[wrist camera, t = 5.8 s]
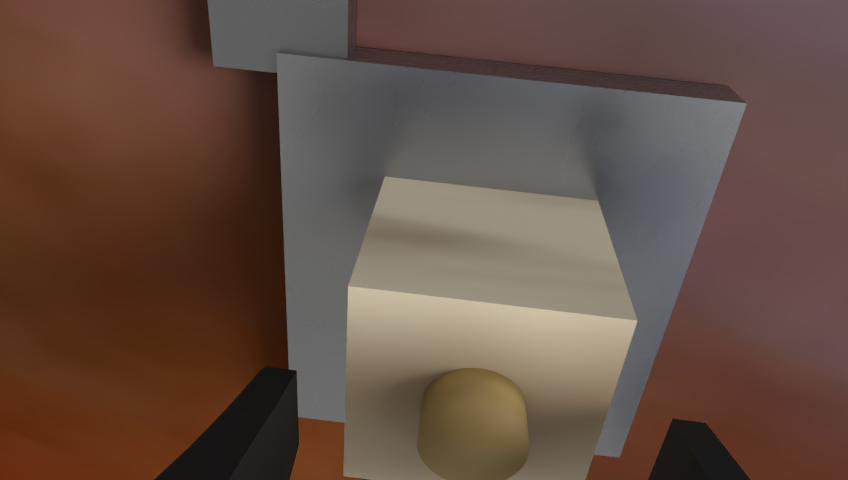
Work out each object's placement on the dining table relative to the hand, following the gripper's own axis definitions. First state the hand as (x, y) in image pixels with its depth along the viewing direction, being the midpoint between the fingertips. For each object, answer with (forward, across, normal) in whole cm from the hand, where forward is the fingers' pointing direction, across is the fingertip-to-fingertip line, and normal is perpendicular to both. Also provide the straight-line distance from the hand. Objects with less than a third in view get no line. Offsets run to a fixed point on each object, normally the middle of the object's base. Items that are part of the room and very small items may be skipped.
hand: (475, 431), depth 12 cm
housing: (+5, 0, 0) cm, 5 cm away
